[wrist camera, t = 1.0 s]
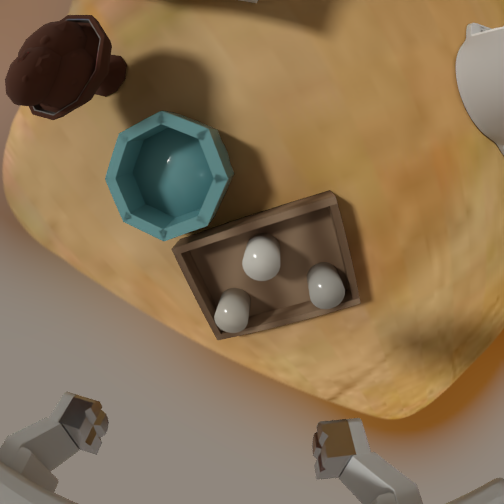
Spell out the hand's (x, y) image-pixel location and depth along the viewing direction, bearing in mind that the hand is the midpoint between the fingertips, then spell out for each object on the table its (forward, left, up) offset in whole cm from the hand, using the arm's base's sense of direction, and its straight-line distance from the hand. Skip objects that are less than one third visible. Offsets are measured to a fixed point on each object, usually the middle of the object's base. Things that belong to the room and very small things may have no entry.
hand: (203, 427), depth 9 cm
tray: (0, +6, -25) cm, 26 cm away
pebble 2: (0, +3, -25) cm, 25 cm away
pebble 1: (+6, +9, -25) cm, 27 cm away
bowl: (+6, -8, -25) cm, 27 cm away
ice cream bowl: (+10, -23, -26) cm, 36 cm away
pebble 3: (-5, +9, -25) cm, 27 cm away
